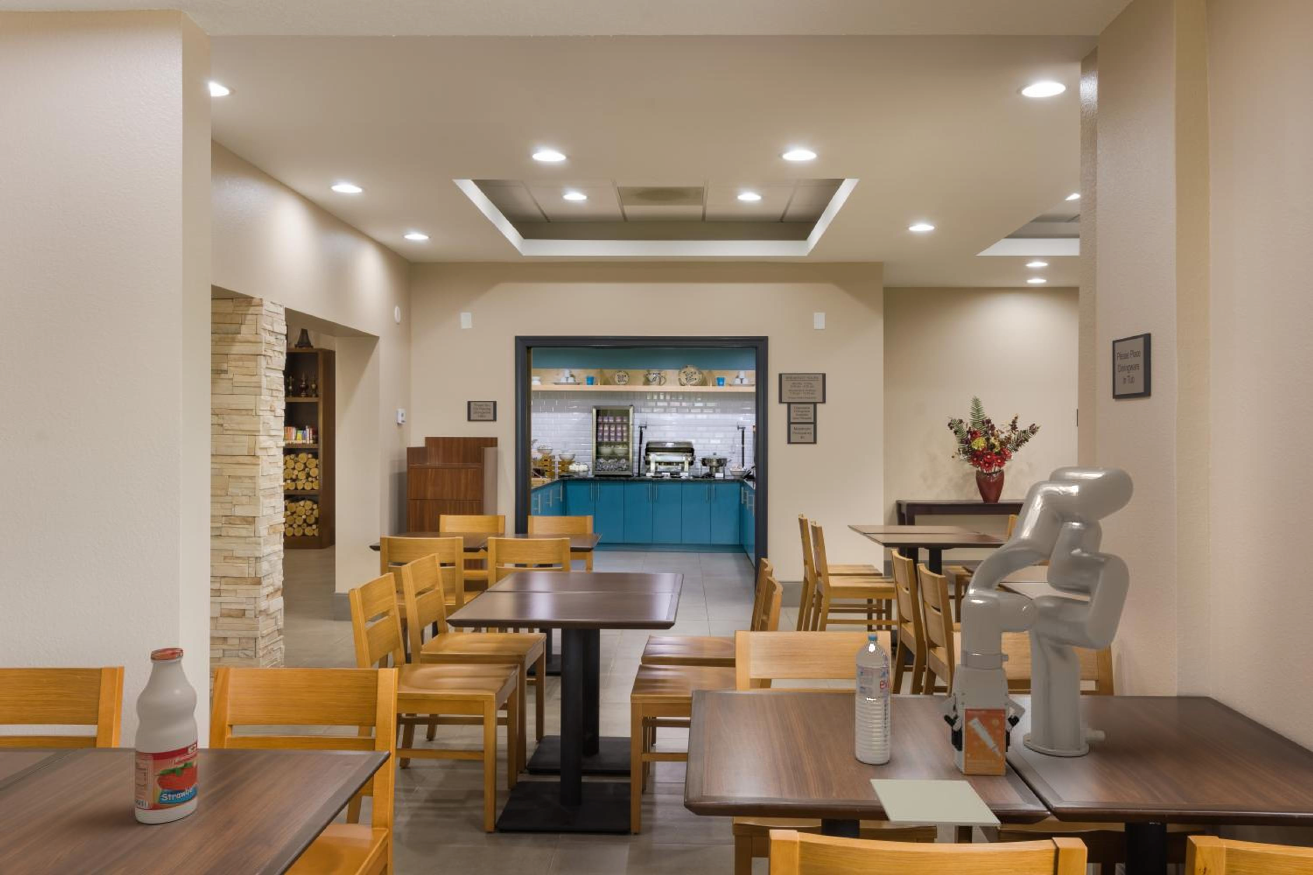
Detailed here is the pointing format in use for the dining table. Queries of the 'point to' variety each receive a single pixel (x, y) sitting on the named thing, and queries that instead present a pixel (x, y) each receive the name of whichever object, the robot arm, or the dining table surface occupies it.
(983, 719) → the small box
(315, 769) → the dining table surface
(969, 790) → the mat
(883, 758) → the water bottle
